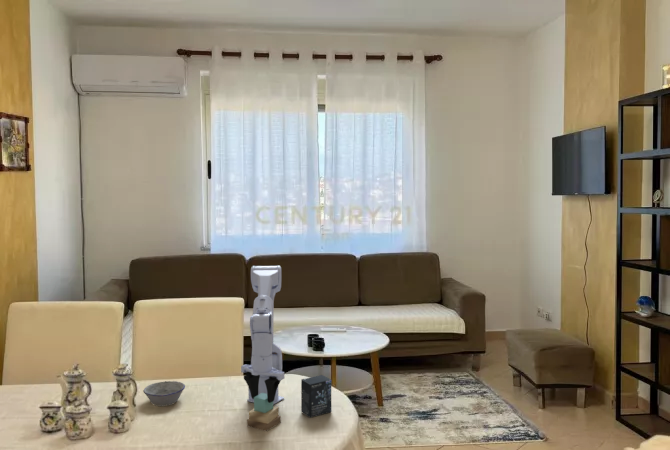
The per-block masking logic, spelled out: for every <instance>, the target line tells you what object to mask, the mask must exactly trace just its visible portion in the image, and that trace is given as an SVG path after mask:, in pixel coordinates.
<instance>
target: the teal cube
mask: <svg viewBox="0 0 670 450" xmlns="http://www.w3.org/2000/svg"><path fill="white" fill-rule="evenodd" d="M273 406H274V404H273V402H271V403H269V402H268V398H267V394H266V393H261V394H259V395H257V396H255V397H254V403H253V409H254V411H259V412H263V413H266V412H268V411H270V410H271V409H273Z"/></svg>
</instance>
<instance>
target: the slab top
mask: <svg viewBox="0 0 670 450" xmlns="http://www.w3.org/2000/svg"><path fill="white" fill-rule="evenodd" d="M279 409H280V408H279V406H274V405H273V409H271V410H270V411H268V412H266V413H263V412H259V411H254V408H252V409H251V410H249V411H248V419H249V421H255V422H261V423H267V424H268V423H270V422H271V421H272V420H273V419H275V418H276V417H277V416H278V415H279V414H280V413H279ZM279 416H280V415H279Z"/></svg>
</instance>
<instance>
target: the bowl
mask: <svg viewBox="0 0 670 450" xmlns="http://www.w3.org/2000/svg"><path fill="white" fill-rule="evenodd" d="M185 388H186V385H185V384H184V383H183V382H181V381H177V380H176V381H175V380H173V381H170V380H169V381H168V380H167V381H159V382H155V383H151V384H148V385H147V386H145V388H144V389H143V390H142V391H143V394H145V396H146V397H147V399H148V400H149V402H150V403H151V404H152V405H153V404H154V405H153V406H156V405H157V406H158V407H167V406H171V405H173V403H174V404H176V403H177V402H178V401H179V399H180V396H182V395H181V394H182V393H183V392H184V390H185ZM175 402H176V403H175ZM166 405H167V406H166Z"/></svg>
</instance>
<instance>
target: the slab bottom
mask: <svg viewBox="0 0 670 450" xmlns="http://www.w3.org/2000/svg"><path fill="white" fill-rule="evenodd" d="M281 421H282V420H281V415H278V416H277V417H276V418H275V419H273V420H272V421H271V422H270V423H268V424H267V423H261V422H255V421H249V418H248V419H246V425H247V427H250V428H252V429H256V430H260V431H265V432H268V431H269V430H271V429H272V428H274V427H276V426H277V425H279V424H281V423H282V422H281Z"/></svg>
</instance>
